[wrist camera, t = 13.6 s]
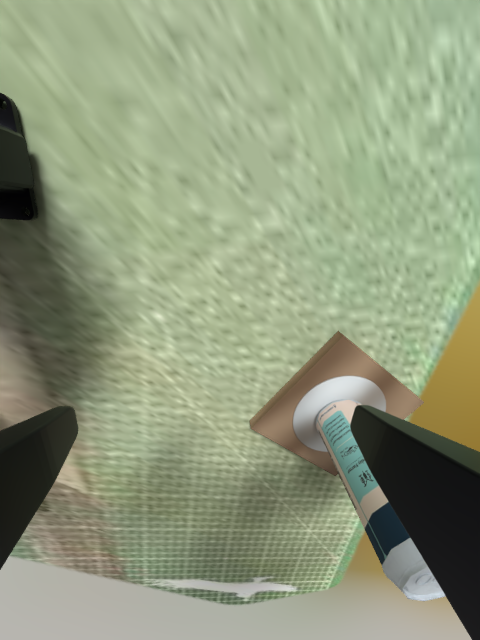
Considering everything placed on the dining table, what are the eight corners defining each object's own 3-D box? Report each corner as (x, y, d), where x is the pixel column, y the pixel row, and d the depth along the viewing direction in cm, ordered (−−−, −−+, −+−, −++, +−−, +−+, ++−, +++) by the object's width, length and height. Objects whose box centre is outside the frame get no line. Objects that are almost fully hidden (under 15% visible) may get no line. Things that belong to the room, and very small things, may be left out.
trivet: (249, 420, 25) (251, 430, 24) (338, 330, 23) (344, 336, 21) (331, 467, 29) (336, 477, 28) (416, 395, 26) (425, 403, 25)
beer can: (354, 435, 26) (459, 602, 15) (308, 434, 25) (382, 607, 14) (369, 396, 24) (500, 552, 13) (320, 394, 24) (414, 556, 12)
